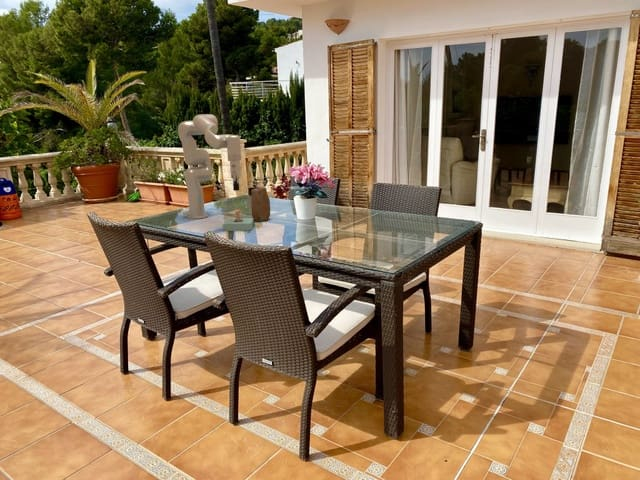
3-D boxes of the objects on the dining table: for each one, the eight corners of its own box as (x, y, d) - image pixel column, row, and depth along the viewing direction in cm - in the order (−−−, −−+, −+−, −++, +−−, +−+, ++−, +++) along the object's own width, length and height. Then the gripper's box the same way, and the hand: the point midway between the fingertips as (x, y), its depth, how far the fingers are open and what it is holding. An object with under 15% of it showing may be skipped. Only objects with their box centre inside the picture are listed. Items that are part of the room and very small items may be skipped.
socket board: (223, 231, 280) (222, 224, 279) (226, 225, 293) (226, 218, 292) (251, 230, 280) (251, 223, 279) (253, 224, 294) (253, 217, 293)
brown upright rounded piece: (258, 222, 298) (256, 189, 293) (250, 220, 303) (249, 188, 298) (272, 219, 306) (270, 187, 300) (264, 217, 311) (263, 186, 305)
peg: (235, 228, 285) (234, 211, 282) (236, 227, 288) (234, 210, 286) (241, 228, 285) (240, 211, 282) (242, 226, 289) (241, 210, 286)
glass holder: (252, 208, 340) (251, 186, 336) (271, 209, 335) (270, 187, 331) (246, 211, 332) (245, 188, 328) (265, 212, 327) (264, 189, 323)
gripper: (239, 159, 269) (241, 192, 274) (242, 156, 283) (244, 187, 288) (225, 159, 269) (228, 192, 274) (229, 156, 283) (231, 188, 288)
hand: (236, 190), depth 281 cm, fingers closed
